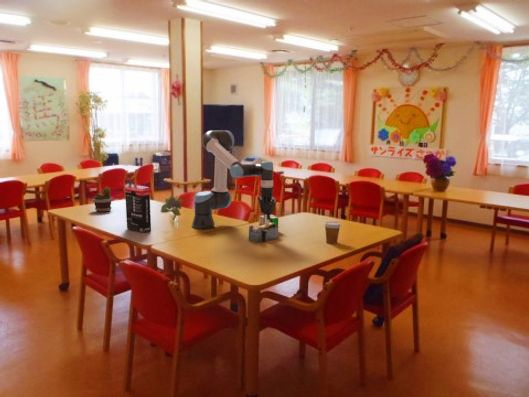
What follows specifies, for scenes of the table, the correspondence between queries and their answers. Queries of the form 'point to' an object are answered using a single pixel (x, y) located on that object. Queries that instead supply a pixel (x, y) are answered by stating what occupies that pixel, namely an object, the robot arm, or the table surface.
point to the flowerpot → (103, 201)
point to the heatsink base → (263, 233)
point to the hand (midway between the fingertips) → (266, 224)
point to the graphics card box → (138, 209)
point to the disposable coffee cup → (332, 232)
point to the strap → (262, 227)
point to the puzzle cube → (272, 219)
